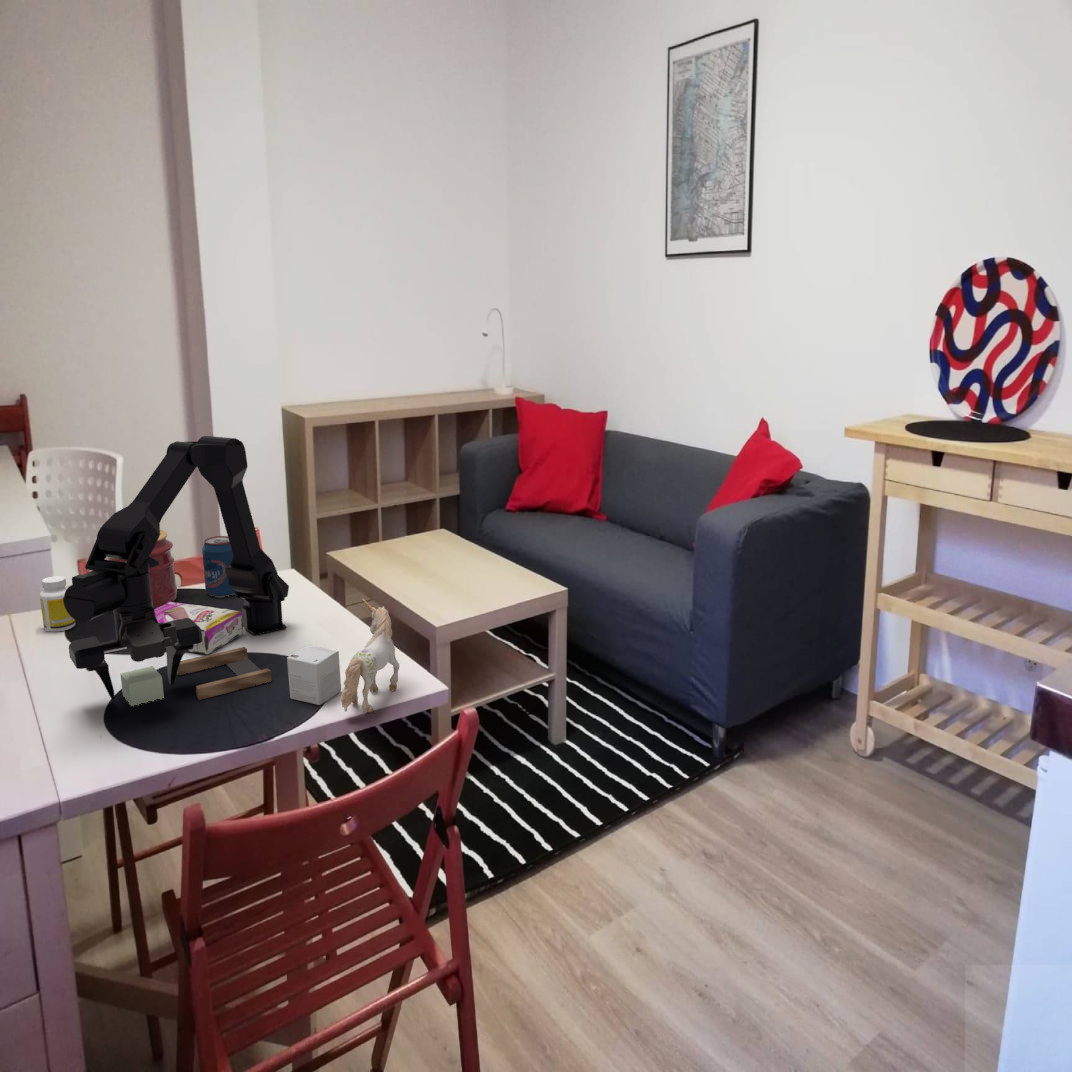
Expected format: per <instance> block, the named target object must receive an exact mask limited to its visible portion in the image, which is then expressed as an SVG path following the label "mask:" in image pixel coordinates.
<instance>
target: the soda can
mask: <svg viewBox="0 0 1072 1072" xmlns="http://www.w3.org/2000/svg"><path fill="white" fill-rule="evenodd" d="M203 541H204V544H203V545H202V548H201V553H202V563H203V565H202V566H203V574H204V587H205V591H206V593H207V594H208V595H209V596H210V595H211V596H210V597H212V596H215V597H214V598H226V597H225V596H228V597H230V596H229V595H232V596H234V595H236V594H235V592H234V589H233V588H232V586H229V580H228V576H227V574H226V572H225V569H226V568H227V567H228V566H229V565H230V563H231V560H232V558H233V552H232V549H231V545H230V542H229V538H228V535H217V536H216V535H215V536H211V537H207V538H205V539H204V540H203Z"/></svg>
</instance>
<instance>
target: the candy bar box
mask: <svg viewBox="0 0 1072 1072" xmlns="http://www.w3.org/2000/svg"><path fill="white" fill-rule="evenodd" d="M154 612H155V617H156V619H157V621H158V623H162V622H163V623H166V622H169V621H174V620H179V619H184V618H190V619H191V620H193V621H194V622H195V623H196V624H197V625H198V626H199V627H200V629H201V632H202V642H201V643H198V644H194V647H193V649H190V650H188V651H187V652H188V653H189V652H190V653H196V654H203V655H210V654H211V653H213V652H214V651H216V650H217V649H220V648H221V647H223V646H225V645H226V644H228V643H229V642H232V641H233V640H235V639H237V638H238V637H240V636H242V635H244V626H243V618H242V610H235V609H229V608H222V607H221V608H220V607H213V606H207V605H206V606H205V605H198V604H192V603H186V602H185V603H184V602H183V603H182V602H176V601H173V602H172V601H170V602H168V603H166V604H164V605H161V606H159V607H157V608H155V609H154ZM165 649H166V647H165Z"/></svg>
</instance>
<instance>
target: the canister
mask: <svg viewBox="0 0 1072 1072" xmlns="http://www.w3.org/2000/svg"><path fill="white" fill-rule="evenodd" d="M167 537H168V532H167V531H165V530H163V529H161V528H160V536H159V538H158V540H157V542H156V544H155V546H154V549H153V551H152V552H151V554H150V555H149V556H150V557H152V558H153V559H155V560H157V561H158V562H159V565H158V566H155V567H153V568H150V569H149V573H150V583H151V592H152V602H153V608H157V607H159V606H161V605H164V604H166V603H168V602H170V601H173V602H175V601H174V600H177V594H178V589H177V588H178V587H177V584H176V574H175V573H176V572H175V565H174V564H175V558H174V557H173V556H172V552H171V550H172V549H173V546H174V545H173V542H172V541H170V540H169V539H167ZM107 560H111V561H118V562H126V561H127V560H124V559H117V558H110V557H107Z"/></svg>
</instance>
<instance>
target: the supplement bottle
mask: <svg viewBox="0 0 1072 1072" xmlns="http://www.w3.org/2000/svg"><path fill="white" fill-rule="evenodd" d="M41 585H42V588H43V589H42V590H41V592H40V593H39V600H40V609H41V616H42V624H43V628H44V631H47V632H52V633H54V632H55V633H56V632H58V633H59V632H64V631H67V630H70V629H72V628H74V627H75V626H76V620H75V619H73V618H72V617H71V616H70V615H69V614H68V612H67V611H66V609H65V606H64V602H63V597H64V595H65V592H66V590H67V588H68V587H67V579H66V577H65V576H63V575H54V576H48V577H46V578H45V577H44V578H43V579H42V580H41Z"/></svg>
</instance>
